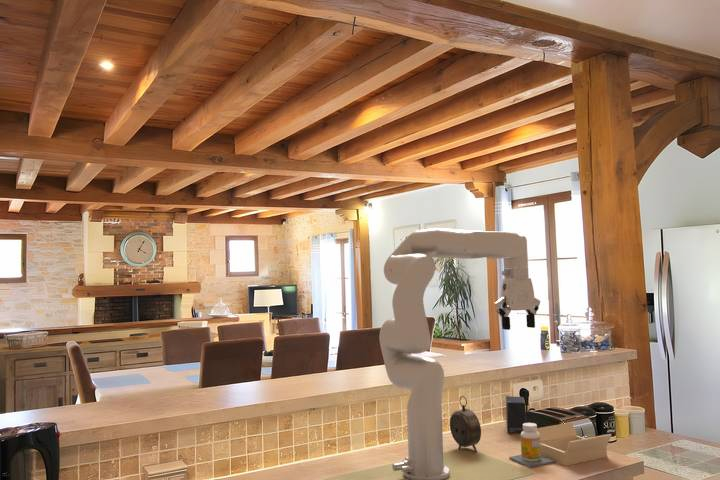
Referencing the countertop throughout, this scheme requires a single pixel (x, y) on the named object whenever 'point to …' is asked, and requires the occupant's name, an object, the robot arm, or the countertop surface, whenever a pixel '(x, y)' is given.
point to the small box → (515, 414)
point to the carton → (570, 445)
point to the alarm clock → (465, 427)
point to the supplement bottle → (530, 443)
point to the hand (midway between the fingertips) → (518, 328)
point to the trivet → (532, 463)
